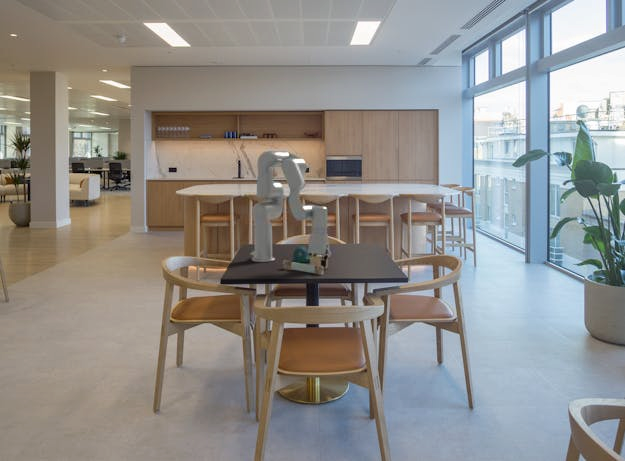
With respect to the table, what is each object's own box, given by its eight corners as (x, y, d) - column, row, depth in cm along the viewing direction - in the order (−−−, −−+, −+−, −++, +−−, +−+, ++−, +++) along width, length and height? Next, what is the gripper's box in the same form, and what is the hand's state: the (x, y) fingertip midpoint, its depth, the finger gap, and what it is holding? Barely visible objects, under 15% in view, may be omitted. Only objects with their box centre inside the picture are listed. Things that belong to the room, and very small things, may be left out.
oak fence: (282, 268, 293) (282, 260, 292) (285, 268, 294) (285, 259, 294) (321, 275, 277) (321, 266, 276) (324, 274, 279) (324, 265, 278)
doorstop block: (309, 268, 291) (310, 256, 290) (319, 266, 297) (320, 254, 296) (317, 270, 288) (317, 258, 287) (327, 267, 294) (327, 256, 293)
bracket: (293, 262, 311) (293, 248, 310) (295, 260, 318) (295, 246, 317) (326, 263, 309) (326, 248, 308) (328, 261, 315) (328, 247, 314)
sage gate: (291, 269, 290) (291, 262, 289) (293, 268, 291) (293, 261, 291) (314, 273, 280) (314, 266, 280) (317, 272, 282) (317, 265, 281)
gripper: (301, 230, 292) (301, 265, 295) (328, 233, 282) (327, 270, 284) (311, 228, 298) (310, 263, 300) (337, 232, 287) (336, 268, 290)
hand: (318, 266), depth 292 cm, fingers closed on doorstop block, 5 cm apart
